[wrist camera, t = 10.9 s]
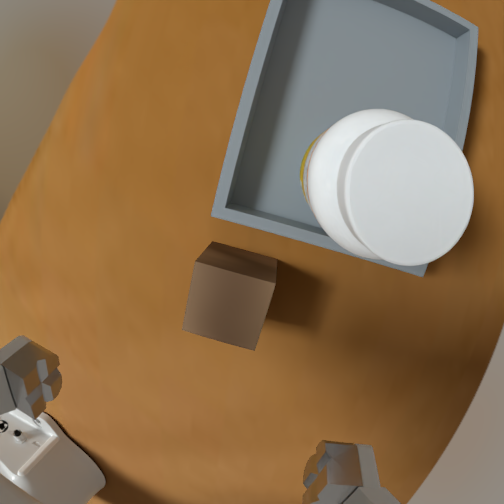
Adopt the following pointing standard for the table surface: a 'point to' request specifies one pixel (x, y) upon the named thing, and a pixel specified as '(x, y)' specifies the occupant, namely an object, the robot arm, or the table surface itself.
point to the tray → (337, 97)
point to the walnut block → (230, 295)
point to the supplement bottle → (388, 187)
